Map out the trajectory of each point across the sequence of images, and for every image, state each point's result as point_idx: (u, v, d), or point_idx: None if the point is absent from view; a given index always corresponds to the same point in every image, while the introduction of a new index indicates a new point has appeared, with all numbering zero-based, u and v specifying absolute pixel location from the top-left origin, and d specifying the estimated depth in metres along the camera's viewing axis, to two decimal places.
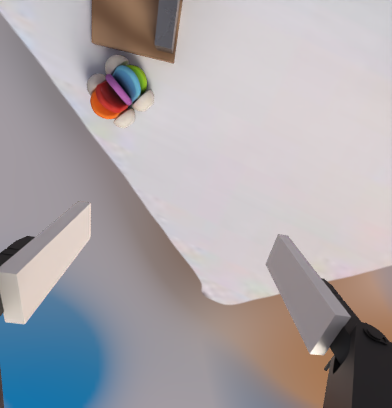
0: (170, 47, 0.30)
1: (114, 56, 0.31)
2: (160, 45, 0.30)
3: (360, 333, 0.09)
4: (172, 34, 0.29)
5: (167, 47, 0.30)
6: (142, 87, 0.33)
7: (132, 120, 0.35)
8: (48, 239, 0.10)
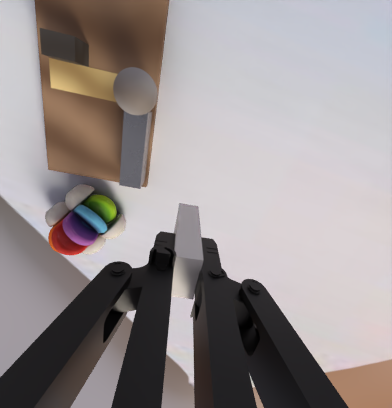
0: (138, 187, 0.25)
1: (75, 191, 0.26)
2: (126, 185, 0.25)
3: (206, 277, 0.10)
4: (140, 175, 0.25)
5: (135, 186, 0.25)
6: (110, 218, 0.28)
7: (101, 247, 0.31)
8: (186, 233, 0.13)
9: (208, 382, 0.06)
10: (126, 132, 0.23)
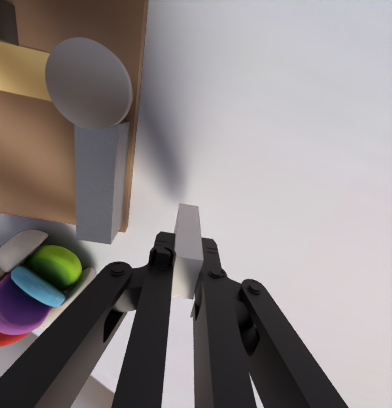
0: (108, 242, 0.16)
1: (11, 246, 0.17)
2: (88, 239, 0.15)
3: (206, 277, 0.10)
4: (109, 224, 0.15)
5: (102, 241, 0.16)
6: (71, 280, 0.19)
7: None
8: (186, 233, 0.13)
9: (208, 382, 0.06)
10: (80, 158, 0.13)
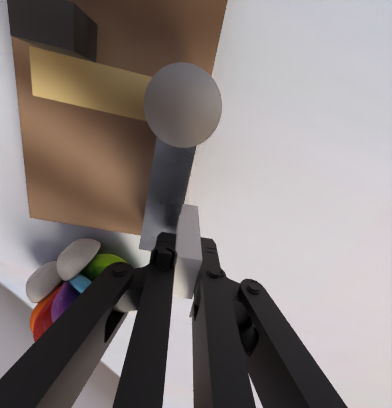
0: None
1: (71, 255, 0.17)
2: (150, 249, 0.16)
3: (205, 277, 0.10)
4: None
5: None
6: None
7: None
8: (187, 233, 0.13)
9: (207, 382, 0.06)
10: (156, 172, 0.13)
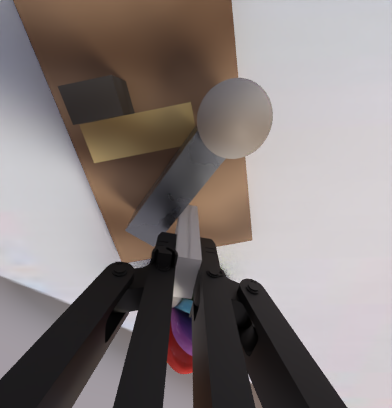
0: (152, 244, 0.16)
1: None
2: (135, 235, 0.15)
3: (205, 277, 0.10)
4: (165, 230, 0.15)
5: (147, 241, 0.16)
6: None
7: None
8: (187, 234, 0.13)
9: (207, 382, 0.06)
10: (178, 166, 0.13)
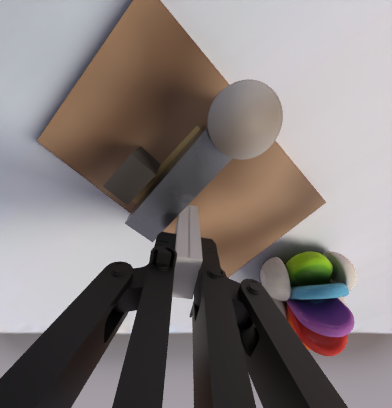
0: (151, 239, 0.16)
1: (273, 281, 0.19)
2: (135, 228, 0.15)
3: (205, 277, 0.10)
4: (165, 226, 0.15)
5: (146, 236, 0.16)
6: (330, 269, 0.19)
7: (345, 302, 0.21)
8: (187, 234, 0.13)
9: (207, 382, 0.06)
10: (184, 162, 0.13)
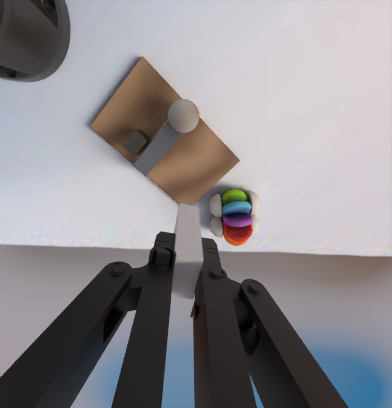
0: (145, 174, 0.32)
1: (213, 204, 0.35)
2: (137, 168, 0.31)
3: (206, 277, 0.10)
4: (152, 167, 0.31)
5: (143, 173, 0.32)
6: (244, 198, 0.35)
7: (258, 221, 0.37)
8: (186, 233, 0.13)
9: (208, 382, 0.06)
10: (160, 135, 0.29)
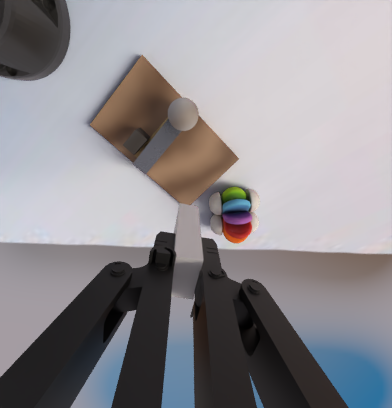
0: (145, 172, 0.32)
1: (212, 202, 0.36)
2: (137, 166, 0.32)
3: (206, 277, 0.10)
4: (152, 165, 0.32)
5: (143, 171, 0.32)
6: (244, 196, 0.36)
7: (257, 218, 0.38)
8: (186, 233, 0.13)
9: (208, 382, 0.06)
10: (159, 133, 0.30)
